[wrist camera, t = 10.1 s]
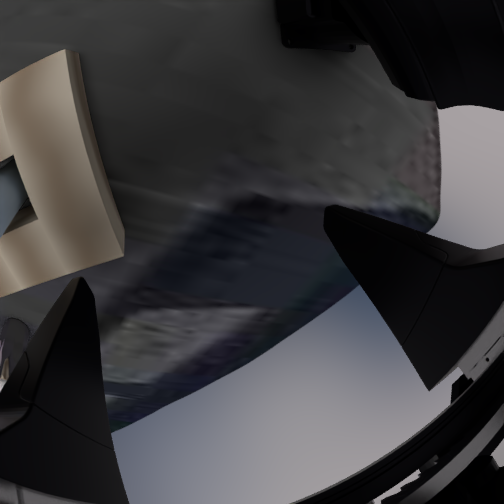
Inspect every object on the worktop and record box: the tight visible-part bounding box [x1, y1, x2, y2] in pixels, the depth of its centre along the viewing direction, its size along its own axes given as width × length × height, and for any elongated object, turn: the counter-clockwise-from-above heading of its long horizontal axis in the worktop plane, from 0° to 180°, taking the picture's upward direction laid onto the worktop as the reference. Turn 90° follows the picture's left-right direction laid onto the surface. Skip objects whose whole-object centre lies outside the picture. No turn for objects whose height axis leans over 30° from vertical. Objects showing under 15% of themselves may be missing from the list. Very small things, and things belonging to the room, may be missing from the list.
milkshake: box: [0, 318, 29, 391], centre depth 17 cm, size 5×5×10 cm
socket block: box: [0, 49, 125, 297], centre depth 13 cm, size 14×14×4 cm
